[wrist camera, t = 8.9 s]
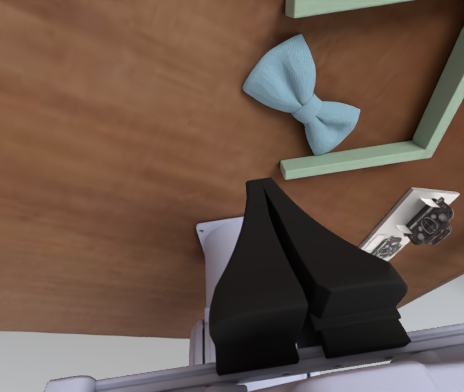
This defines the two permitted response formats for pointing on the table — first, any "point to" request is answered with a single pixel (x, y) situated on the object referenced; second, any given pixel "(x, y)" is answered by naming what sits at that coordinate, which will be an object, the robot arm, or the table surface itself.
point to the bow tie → (300, 94)
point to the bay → (420, 147)
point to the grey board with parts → (412, 222)
